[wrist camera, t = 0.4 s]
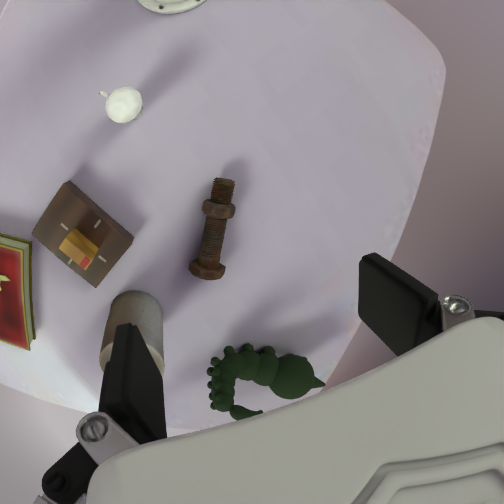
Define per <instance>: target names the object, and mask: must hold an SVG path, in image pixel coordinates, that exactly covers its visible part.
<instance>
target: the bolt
mask: <svg viewBox="0 0 504 504" xmlns="http://www.w3.org/2000/svg"><path fill="white" fill-rule="evenodd" d="M214 180H215V181H213V182H214V183H213V184H214V185H213V188H212V189H213V190H212V192H211V193H212V194H211V199H207V200H205V201H204V202H203V206H202V211H203V212H204V213H205V214H207V216H206V217H207V218H206V223H205V224H206V225H205V227H204V228H205V229H204V231H203V232H204V233H203V238H202V242H201V243H202V244H201V248H200V249H201V250H200V252H199V256H198V258H196V259H194V260H193V261H191V262H190V263H189V270H190V272H191V273H192V274H193V275H194V276H196V277H199V278H201V279H205V280H217V279H220V278H221V277H222V276H223V275H224V273H225V268H226V266H224V265H222V264H221V263H219V261H220V253H221V248H222V243H223V239H224V233H225V229H226V222H227V219H230V218H232V217H233V216H234V213H235V206H234V205H233V204H231V198H232V197H231V196H233V195H232V194H233V193H232V192H233V189H234V185H235V184H234V183H235V182H234V181H232V180H229V179H223V178H215V179H214Z"/></svg>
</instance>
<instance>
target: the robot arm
mask: <svg viewBox="0 0 504 504" xmlns="http://www.w3.org/2000/svg"><path fill="white" fill-rule="evenodd" d="M138 1H139V3H140V4H141V5H143V6H144V7H145V8H147V9H149V10H151V11H154V12H157V13H164V14H174V13H181V12H185V11H189V10H191V9H193V8H196V7H197V6H199V5H201V4H202V3H204V2H205V1H206V0H138ZM197 1H199V2H197ZM160 8H163V9H160ZM358 314H359V317H360V318H361V320H362V321H363V322H365V323H366V325H367V326H368V327H369V328H370V329H371V330H372V331H373V332H374V333H375V334H376V335H377V336H378V337H379V338H380V339H381V340H382V341H383V342H384V343H385V344H386V345H387V346H388V347H389V348H390V349H391V350H392V351H393V352H394V353H395V354H396V355H397V356H398V357H397V358H395V359H393V360H391V361H389V362H387V363H385V364H383V365H381V366H379V367H377V368H375V369H373V370H371V371H368V372H366V373H364V374H362V375H360V376H358V377H355V378H353V379H351V380H349V381H347V382H344V383H342V384H340V385H337V386H335V387H333V388H330V389H328V390H325V391H323V392H320V393H318V394H315V395H313V396H310V397H308V398H305V399H302V400H300V401H297V402H294V403H291V404H288V405H286V406H283V407H280V408H277V409H274V410H271V411H268V412H265V413H262V414H258V415H255V416H252V417H249V418H245V419H242V420H238V421H235V422H231V423H227V424H223V425H220V426H216V427H212V428H208V429H204V430H200V431H196V432H192V433H188V434H183V435H178V436H174V437H169V438H167V432H166V421H165V408H164V393H163V379H162V375H161V373H160V371H159V369H158V367H157V365H156V363H155V361H154V359H153V357H152V355H151V353H150V351H149V349H148V347H147V345H146V343H145V341H144V339H143V337H142V335H141V333H140V330H139V328H138V326H137V325H132V324H131V323H125V324H121V325H117V327H116V331H115V336H114V341H113V346H112V352H111V357H110V361H107V362H106V364H105V369H104V375H103V381H102V388H101V394H100V401H99V409H98V412H92V413H89V414H87V415H86V416H84V417H83V418H82V419H81V420H80V422H79V423H78V425H77V428H76V436H77V438H78V440H79V442H78V443H77V444H76V445H75V446H74V447H72V448H71V449H70V450H69V451H68V452H67V453H66V454H65V455H64V456H63V457H62V458H61V459H60V460H58V461H57V462H56V463H55V464H54V465H53V466H52V467H51V468H50V469H49V470H47V472H46V473H45V474H44V476H43V479H42V489H43V491H44V494H43V496H42V497H41V496H39V495H38V497H37V498H36V500H35V502H34V504H504V312H494V311H493V312H492V311H481V310H473V306H472V304H471V302H470V301H469V300H468V299H466V298H465V297H462V296H459V295H449V296H445V297H444V298H443V299H442V300H441V302H440V301H438V294H437V293H436V292H434V291H433V290H431V289H430V288H428V287H427V286H425V285H424V284H423V283H421V282H420V281H418V280H417V279H415V278H414V277H412V276H411V275H409V274H408V273H406V272H405V271H403V270H402V269H400V268H399V267H397V266H396V265H394V264H393V263H391V262H390V261H388V260H387V259H385V258H383V257H382V256H380V255H379V254H377V253H375V252H374V253H371V254H368V255H365V256H363V257H362V260H361V261H360V262H359V299H358Z"/></svg>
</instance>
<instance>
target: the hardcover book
mask: <svg viewBox="0 0 504 504" xmlns="http://www.w3.org/2000/svg"><path fill="white" fill-rule="evenodd" d="M31 255H32V242H31V241H27V240H24V239H20V238H16V237H12V236H8V235H4V234H1V233H0V341H2V342H5V343H8V344H11V345H14V346H17V347H20V348H23V349H26V350H29V351H30V343H31V341H32V339H34V340H35V339H36V338H35V329H34V319H33V305H32V282H31Z"/></svg>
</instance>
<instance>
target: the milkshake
mask: <svg viewBox="0 0 504 504" xmlns="http://www.w3.org/2000/svg"><path fill="white" fill-rule="evenodd" d="M99 94H100V95H102V96H104V97H106V98H108V99H107V102H106V112H107V114H108V116H109V117H110V118H111V119H112V120H113V121H115V122H118V123H125V122H128V121H131V120H136V119H137V118H138V117H139V116H141V114H142V111H143V106H142V98H141V95H140V93H139V92H138V91H137V90H135V89H134V88H132V87H121V88H118V89H116V90H115V91H113V92H112V93H111V94H110V95H109V94H107V93H105V92H103V91H100V93H99Z"/></svg>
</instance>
